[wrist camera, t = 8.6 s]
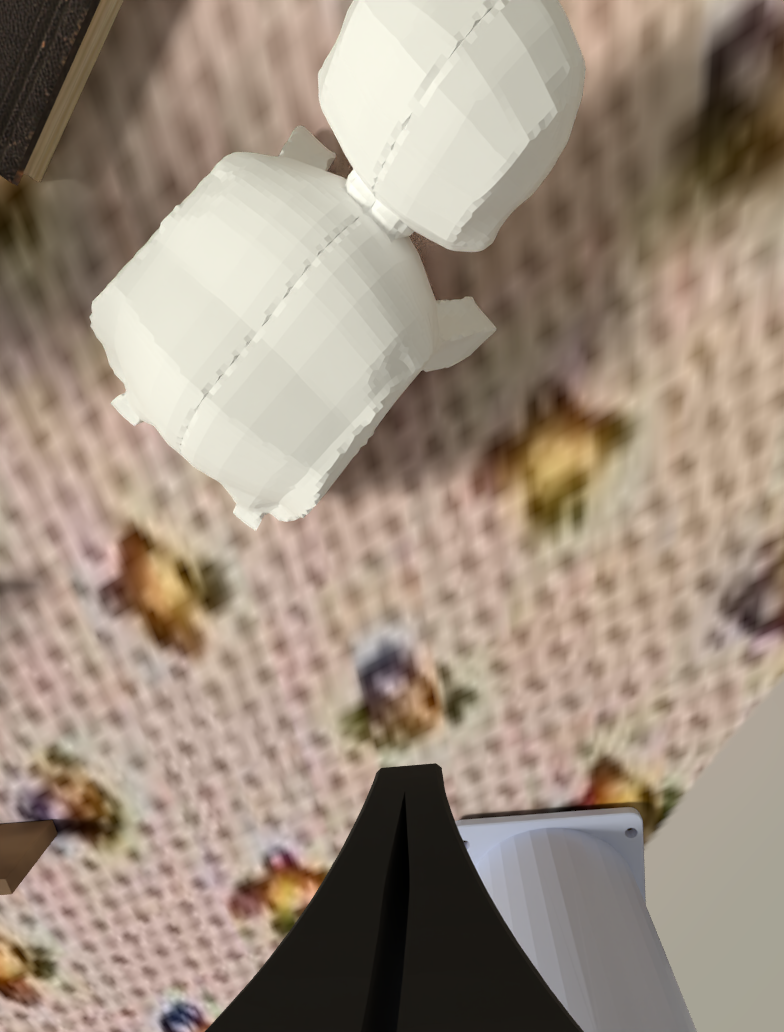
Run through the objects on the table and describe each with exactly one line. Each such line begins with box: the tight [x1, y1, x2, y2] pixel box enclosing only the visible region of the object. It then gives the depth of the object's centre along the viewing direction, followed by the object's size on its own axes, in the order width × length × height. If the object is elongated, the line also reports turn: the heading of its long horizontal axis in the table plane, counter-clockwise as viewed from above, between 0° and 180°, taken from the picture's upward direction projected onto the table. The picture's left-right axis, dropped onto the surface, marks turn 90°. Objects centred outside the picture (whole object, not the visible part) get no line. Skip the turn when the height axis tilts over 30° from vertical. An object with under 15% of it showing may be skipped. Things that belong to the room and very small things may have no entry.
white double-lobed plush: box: [90, 0, 586, 531], centre depth 15 cm, size 9×8×15 cm
